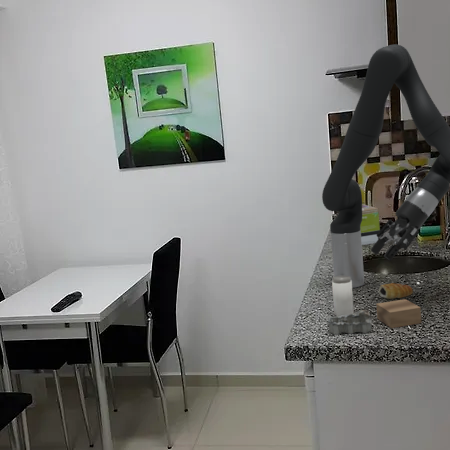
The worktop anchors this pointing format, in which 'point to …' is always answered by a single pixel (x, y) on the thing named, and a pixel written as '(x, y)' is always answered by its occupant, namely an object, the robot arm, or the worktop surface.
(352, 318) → the egg carton
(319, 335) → the worktop surface
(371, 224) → the tea box
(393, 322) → the walnut block
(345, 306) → the spice jar
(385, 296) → the pastry
